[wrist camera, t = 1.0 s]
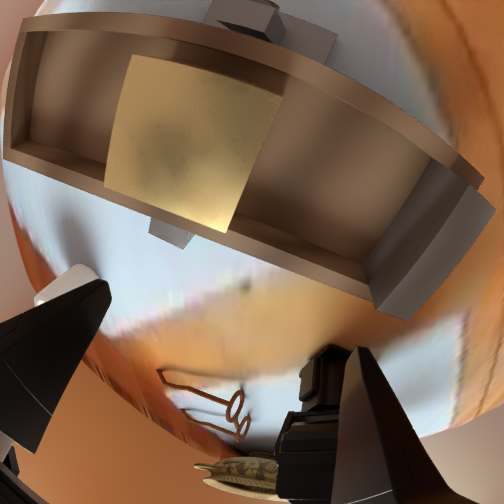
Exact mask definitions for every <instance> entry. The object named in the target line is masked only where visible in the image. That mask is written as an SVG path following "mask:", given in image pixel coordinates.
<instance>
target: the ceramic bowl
mask: <svg viewBox="0 0 504 504" xmlns="http://www.w3.org/2000/svg"><path fill="white" fill-rule="evenodd" d="M249 456H250V457H234V458H228V459H224V460H221V461H218V462H217V463H215V464H214V465H212V464H204V463H197V464H195V465H194V467H195V468H198V469H202V470H207V471H210V472H211V476H210V477H207V478H205V479H203V481H204V482H205V483H207V484H209V485H211V486H213V487H215V488H218V489H221V490H224V491H227V492H231V493H235V494H239V495H244V496H248V497H254V498H261V499H267V500H273V501H287V500H286V499H280V498H279V497H278V495H277V492H276V490H275V487H276V481H277V475H278V467H277V465H276V461H275V455H274V454H273V453H268V452H250V453H249Z"/></svg>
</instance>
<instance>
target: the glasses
mask: <svg viewBox="0 0 504 504" xmlns="http://www.w3.org/2000/svg"><path fill="white" fill-rule="evenodd" d="M156 372H157V374H158V375H159V377H160V379H161V381H162V383H163V385H165V386H168V387H170V388H173V389H178V390H187V391H190V392H192V393H195V394H197V395H199V396H202V397H204V398H207V399H210V400H212V401H215V402H217V403H220V404H223V405H225V406H228V407H227V410H226V420H227V421H228V422H230V423H233V422H234V425H235V428H236V429H237V432H236V433H234V432H232V431H229V430H226V429H224V428H221V427H218V426H216V425H213V424H211V423H208V422H201V421H197V420H194V419H191V418H190V417H189V416H188V414H187V413H186V412H185V410H183V409H180V411H181V412H182V413H183V415H184V416H185V417H186V418H187V420H188V421H190V422H193V423H195V424H198V425H204V426H209V427H211V428H214V429H216V430H219V431H221V432H224V433H226V434H229V435H232V436H234V437H236V438H235V439H236V442H238V443H240V442H242V441H243V439H244V438H245V436H246V434H247V432H248V430H249V427H250V422H251V419H250V417H249V416H245V417H244V419H243V420H242V422H241V423H240V425H239V423H238V415H239V413H240V411H241V409H242V407H243V403H244V392H243V391H241V390H238V391H236V392H235V394H234V395H233V396H232V398H231V400H230V402H229V401H226V400H224V399H221V398H218V397H216V396H213V395H210V394H208V393H205V392H203V391H200V390H198V389H195V388H193V387H190V386H183V385H175V384H172V383H168V382H166V380H165V378H164V376H163V374H162V372H161V371H159V370H156ZM239 395H240V404H239V407H238V409H237V411H236V413H235V415H234V416H233V417H232V418H231V417H230V412H231V408H232V405H233V403H234V401H235V400H236V398H237V397H238V396H239ZM246 421H247V426H246V429H245V432H244V433H243V435H240V431H241V429H242V426H243V425H244V423H245V422H246ZM239 438H240V439H239Z"/></svg>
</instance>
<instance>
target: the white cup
mask: <svg viewBox="0 0 504 504" xmlns="http://www.w3.org/2000/svg"><path fill="white" fill-rule="evenodd" d="M98 278H99V277H98V276H97V274H96V273H95V272H94V271H93V270H91V269H90V268H89V267H88V266H85V265H83V264H75V265H74V266H72V267H71V268H70V269H68V270H67V271H66V272H64V273H63V274H62V275H60V276H59V277H58V278H57V279H55V280H54V281H53V282H52V283H50V284H49V285H48V286H47V287H45V288H44V289H43V290H42V291H40V292H39V293H38V294H37V295H36V296H35V297H34V303H35V306H38V305H40V304H42V303H44V302H47V301H49V300H51V299H53V298H55V297H57V296H60V295H62V294H64V293H66V292H68V291H71V290H73V289H75V288H77V287H79V286H82V285H84V284H86V283H88V282H91V281H93V280H95V279H98ZM99 279H100V278H99Z"/></svg>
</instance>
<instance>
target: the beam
mask: <svg viewBox="0 0 504 504" xmlns="http://www.w3.org/2000/svg"><path fill="white" fill-rule="evenodd" d="M132 54H135V55H146V56H155V57H163V58H171V59H175V60H179V61H184V62H188V63H192V64H195V65H199V66H203V67H206V68H210V69H213V70H217V71H220V72H223V73H227V74H230V75H233V76H236V77H239V78H242V79H245V80H248V81H250V82H253V83H256V84H259V85H261V86H264V87H267V88H269V89H272V90H274V91H277V92H279V93H282V94H283V100H282V102H281V104H280V106H279V109H278V111H277V113H276V115H275V118H274V120H273V122H272V124H271V127H270V129H269V131H268V133H267V136H266V138H265V140H264V142H263V145H262V147H261V149H260V152H259V154H258V156H257V159H256V161H255V163H254V166H253V168H252V170H251V173H250V175H249V177H248V180H247V182H246V185H245V187H244V189H243V192H242V194H241V197H240V199H239V201H238V204H237V206H236V209H235V211H234V214H233V216H232V219H231V221H230V223H229V226H228V228H227V231H226V233H223V232H221V231H218V230H215V229H213V228H210V227H208V226H205V225H202V224H200V223H197V222H195V221H192V220H189V219H187V218H184V217H182V216H179V215H176V214H174V213H171V212H169V211H166V210H163V209H161V208H158V207H156V206H153V205H150V204H148V203H145V202H142V201H140V200H137V199H135V198H132V197H129V196H127V195H124V194H121V193H119V192H116V191H113V190H111V189H108V188H105V187H104V179H105V171H106V164H107V158H108V152H109V146H110V140H111V135H112V130H113V125H114V120H115V116H116V111H117V107H118V103H119V99H120V95H121V91H122V87H123V83H124V80H125V76H126V73H127V70H128V66H129V63H130V60H131V57H132ZM3 159H5V160H7V161H10V162H12V163H15V164H17V165H20V166H22V167H25V168H27V169H30V170H32V171H35V172H37V173H40V174H42V175H45V176H48V177H50V178H53V179H55V180H58V181H60V182H63V183H65V184H68V185H70V186H73V187H75V188H78V189H81V190H83V191H86V192H88V193H91V194H93V195H96V196H98V197H101V198H103V199H106V200H109V201H111V202H114V203H116V204H119V205H121V206H124V207H126V208H129V209H132V210H134V211H137V212H139V213H142V214H144V215H147V216H150V217H152V218H155V219H157V220H160V221H162V222H165V223H168V224H170V225H173V226H175V227H178V228H180V229H183V230H186V231H188V232H191V233H193V234H196V235H198V236H201V237H204V238H206V239H209V240H211V241H214V242H217V243H219V244H222V245H224V246H227V247H230V248H232V249H235V250H237V251H240V252H242V253H245V254H248V255H250V256H253V257H255V258H258V259H261V260H263V261H266V262H268V263H271V264H274V265H276V266H279V267H282V268H284V269H287V270H289V271H292V272H295V273H297V274H300V275H302V276H305V277H308V278H310V279H313V280H315V281H318V282H321V283H323V284H326V285H329V286H331V287H334V288H336V289H339V290H342V291H344V292H347V293H350V294H352V295H355V296H357V297H360V298H363V299H365V300H368V301H371V302H373V303H374V306H375V309H376V310H377V311H380V312H382V313H385V314H388V315H391V316H393V317H396V318H399V319H402V320H404V321H408V320H409V319H410V318H411V317H412V316H413V315H414V314H415V313H416V312H417V311H418V310H419V309H420V307H421V306H422V305H423V304H424V303H425V302H426V301H427V300H428V299H429V298H430V297H431V295H432V294H433V293H434V292H435V291H436V290H437V289H438V287H439V286H440V285H441V284H442V283H443V282H444V280H445V279H446V278H447V277H448V276H449V274H450V273H451V272H452V271H453V269H454V268H455V267H456V266H457V264H458V263H459V262H460V261H461V259H462V258H463V257H464V255H465V254H466V253H467V251H468V250H469V249H470V247H471V246H472V245H473V243H474V242H475V240H476V239H477V237H478V236H479V235H480V233H481V232H482V230H483V229H484V227H485V226H486V224H487V223H488V221H489V220H490V218H491V217H492V215H493V213H494V212H495V210H496V209H495V208H494V207H493V206H492V205H491V204H490V203H489V202H488V201H487V200H486V199H485V198H484V197H483V196H482V195H481V194H480V193H479V192H478V191H477V190H478V189H479V187H480V185H481V183H482V182H483V180H484V177H483V176H482V175H481V174H480V173H479V172H478V171H477V170H476V169H475V168H474V167H473V166H472V165H471V164H470V163H469V162H467V161H466V160H465V159H464V158H463V157H462V156H461V155H460V154H459V153H457V152H456V151H455V150H454V149H453V148H452V147H451V146H449V145H448V144H447V143H446V142H445V141H443V140H442V139H441V138H440V137H438V136H437V135H436V134H435V133H433V132H432V131H431V130H429V129H428V128H427V127H426V126H424V125H423V124H422V123H420V122H419V121H417V120H416V119H415V118H413V117H412V116H410V115H409V114H408V113H406V112H405V111H403V110H402V109H400V108H399V107H397V106H396V105H394V104H393V103H391V102H390V101H388V100H387V99H385V98H383V97H382V96H380V95H378V94H377V93H375V92H373V91H372V90H370V89H368V88H367V87H365V86H363V85H361V84H360V83H358V82H356V81H354V80H352V79H351V78H349V77H347V76H345V75H343V74H341V73H339V72H337V71H335V70H333V69H331V68H329V67H327V66H325V65H323V64H321V63H318V62H316V61H314V60H312V59H309V58H307V57H305V56H303V55H300V54H298V53H295V52H293V51H290V50H288V49H285V48H283V47H280V46H277V45H275V44H272V43H269V42H266V41H263V40H260V39H257V38H254V37H251V36H248V35H245V34H241V33H238V32H234V31H231V30H227V29H223V28H219V27H215V26H211V25H207V24H202V23H197V22H192V21H187V20H182V19H176V18H169V17H162V16H154V15H145V14H134V13H118V12H77V13H62V14H51V15H42V16H35V17H29V18H24V19H23V21H22V24H21V27H20V31H19V35H18V38H17V42H16V46H15V50H14V55H13V59H12V64H11V69H10V75H9V81H8V88H7V96H6V105H5V116H4V134H3Z"/></svg>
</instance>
